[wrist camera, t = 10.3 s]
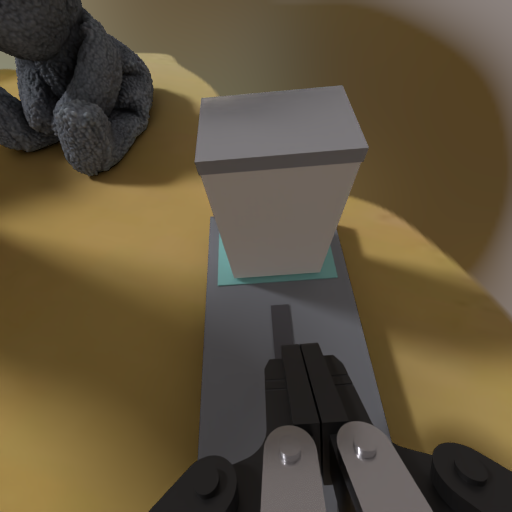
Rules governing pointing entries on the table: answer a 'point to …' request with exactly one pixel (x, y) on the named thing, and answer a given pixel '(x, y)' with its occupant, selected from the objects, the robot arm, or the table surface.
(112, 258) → the table surface
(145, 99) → the koala plush
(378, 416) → the board
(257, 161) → the slider tab
